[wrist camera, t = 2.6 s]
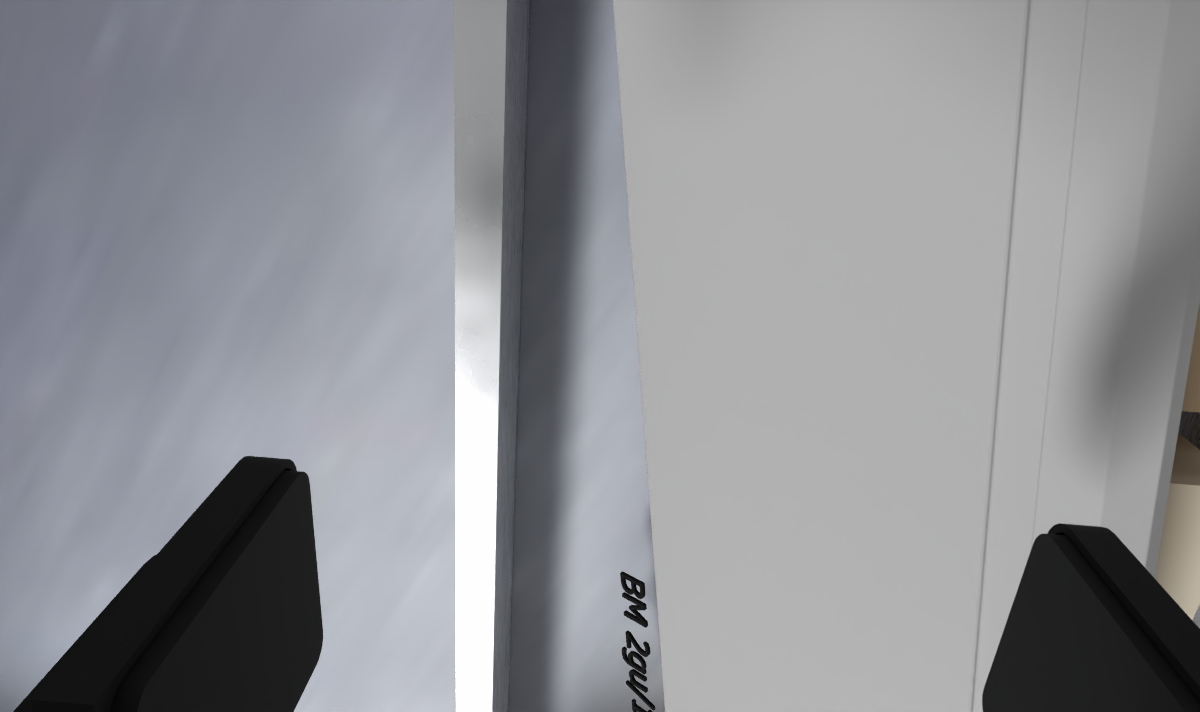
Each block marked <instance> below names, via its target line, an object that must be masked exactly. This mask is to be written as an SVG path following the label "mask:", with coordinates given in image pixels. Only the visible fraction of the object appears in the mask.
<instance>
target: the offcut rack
mask: <svg viewBox="0 0 1200 712" xmlns="http://www.w3.org/2000/svg"><path fill="white" fill-rule="evenodd" d="M529 17H530V0H454V104H455V470H456V712H508V696H509V664H510V631H511V599H512V567H513V534H514V502H515V470H516V437H517V405H518V373H519V341H520V308H521V276H522V244H523V211H524V179H525V147H526V114H527V82H528V50H529ZM1178 433H1179V434H1181V435H1182V436H1183V437H1184V438H1186V439H1187V440H1188V441H1189V442H1190V443H1192V444H1193V445H1194V446H1195V447H1197V448H1198V449H1199V450H1200V412H1186V411H1182V413H1181V419H1180V425H1179V431H1178ZM1192 621H1193V622H1194V623H1195V624H1196V625H1197V626H1198V627H1199V628H1200V604H1199V606H1198V609H1197V611H1196V613H1195V615H1194V618H1193V620H1192Z"/></svg>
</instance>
